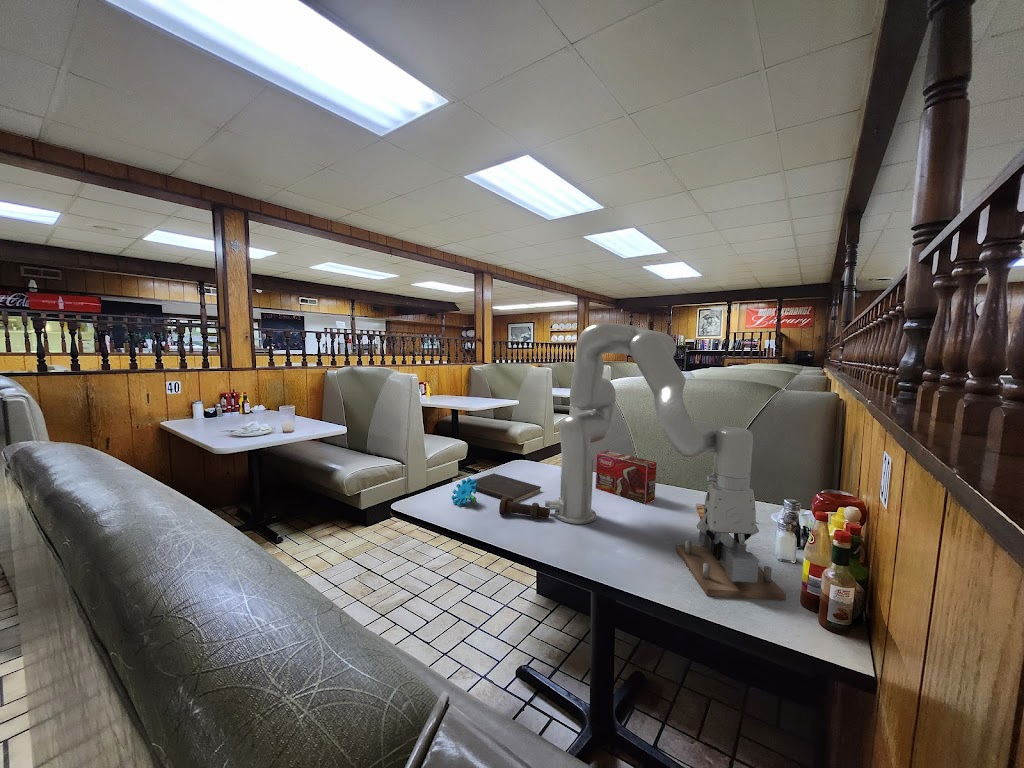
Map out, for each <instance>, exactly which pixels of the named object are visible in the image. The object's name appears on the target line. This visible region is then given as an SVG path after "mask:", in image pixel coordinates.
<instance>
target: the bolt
mask: <svg viewBox="0 0 1024 768" xmlns="http://www.w3.org/2000/svg"><path fill="white" fill-rule="evenodd" d="M498 510H499V511H498V513H499V515H500V516H501V517H504V516H506V514H514V515H516V514H518V515H523V516H529V517H530V519H531V520H537V519H538V518H542V519H549V517H550V516H551V510H550V508H549V507H544V506H540V504H539V502H533V503H532V504H525V503H519V502H510V501H508V497H502V499H501V500H500V501H499V507H498Z"/></svg>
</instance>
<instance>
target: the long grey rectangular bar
mask: <svg viewBox="0 0 1024 768" xmlns="http://www.w3.org/2000/svg"><path fill="white" fill-rule="evenodd" d="M706 528H708V529H709V530H711V529H710V528H709V527H708V525H706ZM698 536H699V537H698V542H699V543H700V545H701V546H703V547H707V548H708V549H709V550H710V549H711V539H710V538H709V536H708V535H706V534H705V533H703V532H702V531H700V530H699V535H698ZM719 543H720V544H721V556H720V561H719V562H720V563H721V564H722V566H723V567H724V568H725V573H726V575H727V576H728V577H729V578H730V580H731V581H740V582H757V578H758V566H759V564H760V559H759V558H758V557H757V555H755V554H754V553H753V552H751V551H747V549H746V550H745V549H744V548H743V547H742V546H741V545H740V544H739V543H738V542H737V541H736V540H735V539H734V536H732V535H731V533H721V536H720V542H719ZM759 567H760V566H759Z"/></svg>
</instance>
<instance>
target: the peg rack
mask: <svg viewBox="0 0 1024 768" xmlns="http://www.w3.org/2000/svg"><path fill="white" fill-rule="evenodd" d="M742 547H743V548H744V549H745V550H746V551H747V544H746V543H745V544H744V545H742ZM675 551H676V553H677V552H678V553H677V554H678V556H679V555H680V556H679V557H680V558H682V559H681V561H682V562H683V561H684V562H683V564H684V565H685V564H686V565H685V566H686V567H688V568H689V569H688V568H687V569H688V571H689V572H690V571H691V572H690V573H691V575H692V574H693V575H692V577H693V578H694V577H695V578H694V580H695V581H696V582H697V584H698V585H699V586H700V589H701V590H702V591H703V592H704V593H705V595H706V597H718V598H723V597H724V598H735V599H736V598H738V599H753V600H754V599H755V600H756V599H757V600H772V601H773V600H774V601H786V599H787V593H786V591H784V589H782V588H781V587H780V586H779V584H777V583H776V582H775V581H774V580H773V579H772V571H773V570H772V567H770V566H767V565H765V566H764V567H763V568H762V567H760V566H758V578H757V582H740V581H731V580H730V578H729V577H728V576H727V575H726V573H725V568H724V567H723V566H722V564H721V563H720V562H719V561H718V560H716V559H715V558H714V556H713V555H712V554H711V551H710V550H709V549H708V548H707V547H703V546H702V544H700V545H699V544H697V545H696V544H693V542H692V541H691V540H689V539H686V540H685V544H679V543H678V544H677V543H676V544H675Z"/></svg>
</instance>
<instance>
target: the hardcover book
mask: <svg viewBox="0 0 1024 768" xmlns="http://www.w3.org/2000/svg"><path fill="white" fill-rule="evenodd" d="M474 480H475V481H476V483H477V484H478V486H477V488H475V487H473V488H472V489H476V490H477V492H476V493H479V494H482V495H485V496H489V497H491V498H494V499H497V500H500V501H501V499H502V497H508V501H510V502H515V503H518V502H520V501H522V500H524V499H526V498H529V497H531V496H533V495H536V494H538V493H541V488H542V486H540V485H536V484H532V483H529V482H526V481H521V480H520V479H515V478H513V477H512V478H511V477H508V476H504V475H501V474H498V473H489V474H487V475H484V476H481V477H478V478H474ZM473 484H475V483H473ZM473 484H472V485H473Z"/></svg>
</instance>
